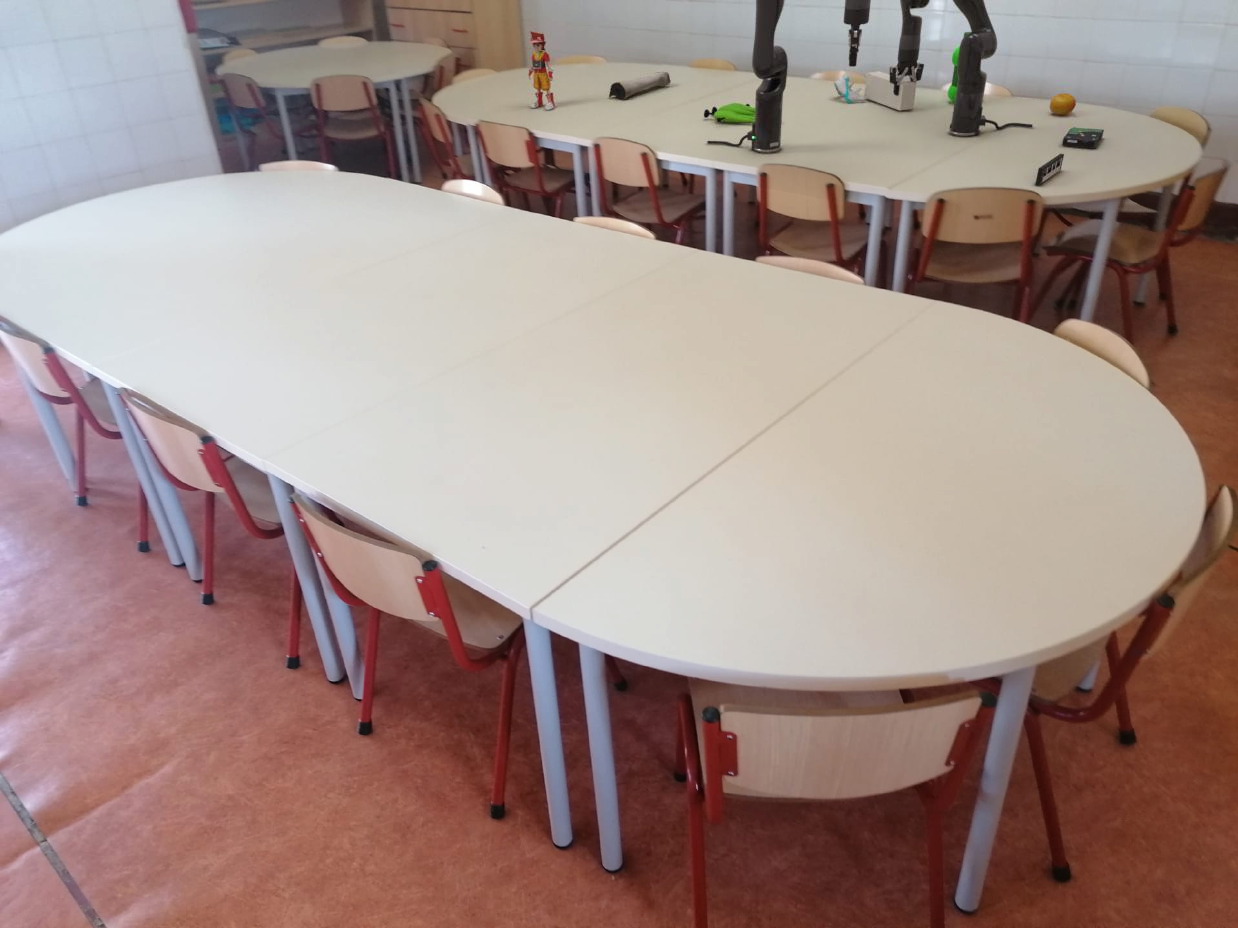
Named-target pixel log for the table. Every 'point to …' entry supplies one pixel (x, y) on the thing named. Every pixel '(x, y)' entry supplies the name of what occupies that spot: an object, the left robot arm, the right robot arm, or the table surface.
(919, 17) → the right robot arm
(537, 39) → the toy
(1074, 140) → the disk drive
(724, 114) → the toy
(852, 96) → the anatomical model
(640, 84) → the rolled mat
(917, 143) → the table surface
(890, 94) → the box
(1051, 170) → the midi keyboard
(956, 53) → the green tall lumpy piece
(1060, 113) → the fruit
